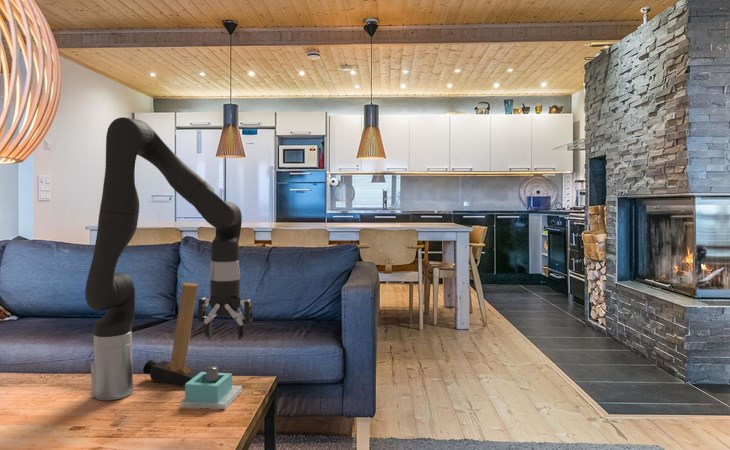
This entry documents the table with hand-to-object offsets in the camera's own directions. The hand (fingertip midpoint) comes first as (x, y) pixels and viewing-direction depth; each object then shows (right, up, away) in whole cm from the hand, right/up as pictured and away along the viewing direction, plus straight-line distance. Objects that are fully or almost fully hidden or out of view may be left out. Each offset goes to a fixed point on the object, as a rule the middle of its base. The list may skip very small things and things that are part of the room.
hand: (225, 337), depth 128 cm
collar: (-5, -15, +1) cm, 16 cm away
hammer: (-18, -16, +13) cm, 27 cm away
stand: (-4, -17, +1) cm, 17 cm away
